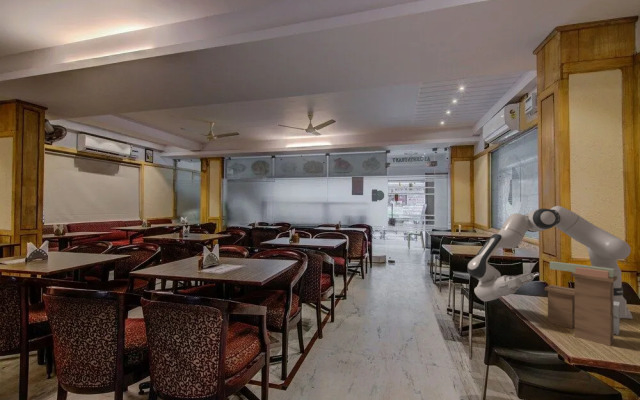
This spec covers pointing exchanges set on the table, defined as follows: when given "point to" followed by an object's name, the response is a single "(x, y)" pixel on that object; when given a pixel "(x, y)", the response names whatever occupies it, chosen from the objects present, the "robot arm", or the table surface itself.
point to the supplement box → (616, 317)
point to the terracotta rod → (592, 272)
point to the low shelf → (561, 305)
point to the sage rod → (572, 267)
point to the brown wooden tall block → (594, 308)
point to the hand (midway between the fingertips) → (535, 275)
